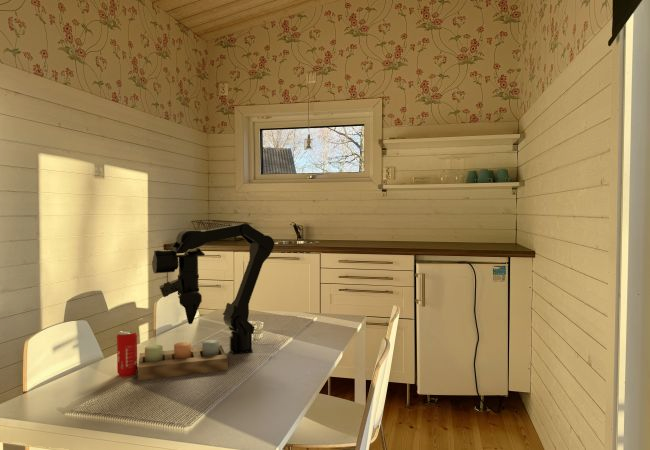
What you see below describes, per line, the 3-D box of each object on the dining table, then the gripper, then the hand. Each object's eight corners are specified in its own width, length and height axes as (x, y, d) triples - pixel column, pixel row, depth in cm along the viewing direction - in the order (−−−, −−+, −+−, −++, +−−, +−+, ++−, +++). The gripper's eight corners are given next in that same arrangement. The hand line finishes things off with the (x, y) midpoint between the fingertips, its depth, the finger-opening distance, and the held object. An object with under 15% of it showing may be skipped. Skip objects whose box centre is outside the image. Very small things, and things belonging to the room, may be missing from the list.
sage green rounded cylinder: (217, 352, 145) (217, 339, 145) (219, 356, 140) (219, 343, 140) (201, 353, 143) (201, 340, 143) (203, 358, 139) (203, 344, 139)
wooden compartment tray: (221, 356, 150) (221, 345, 150) (227, 370, 137) (227, 358, 137) (140, 364, 142) (139, 353, 142) (138, 380, 129) (138, 367, 129)
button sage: (162, 357, 140) (162, 344, 139) (162, 362, 135) (162, 348, 135) (145, 359, 138) (145, 345, 138) (144, 364, 133) (144, 350, 133)
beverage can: (130, 378, 130) (129, 335, 130) (113, 377, 131) (112, 334, 131) (141, 372, 135) (140, 330, 135) (125, 371, 136) (124, 329, 136)
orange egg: (190, 354, 142) (190, 341, 142) (191, 359, 138) (191, 345, 138) (174, 356, 141) (173, 343, 141) (174, 361, 136) (174, 347, 136)
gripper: (160, 269, 152) (161, 317, 153) (160, 276, 135) (162, 330, 135) (196, 267, 156) (197, 314, 156) (201, 274, 138) (202, 327, 139)
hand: (189, 321), depth 146 cm, fingers open, 7 cm apart
